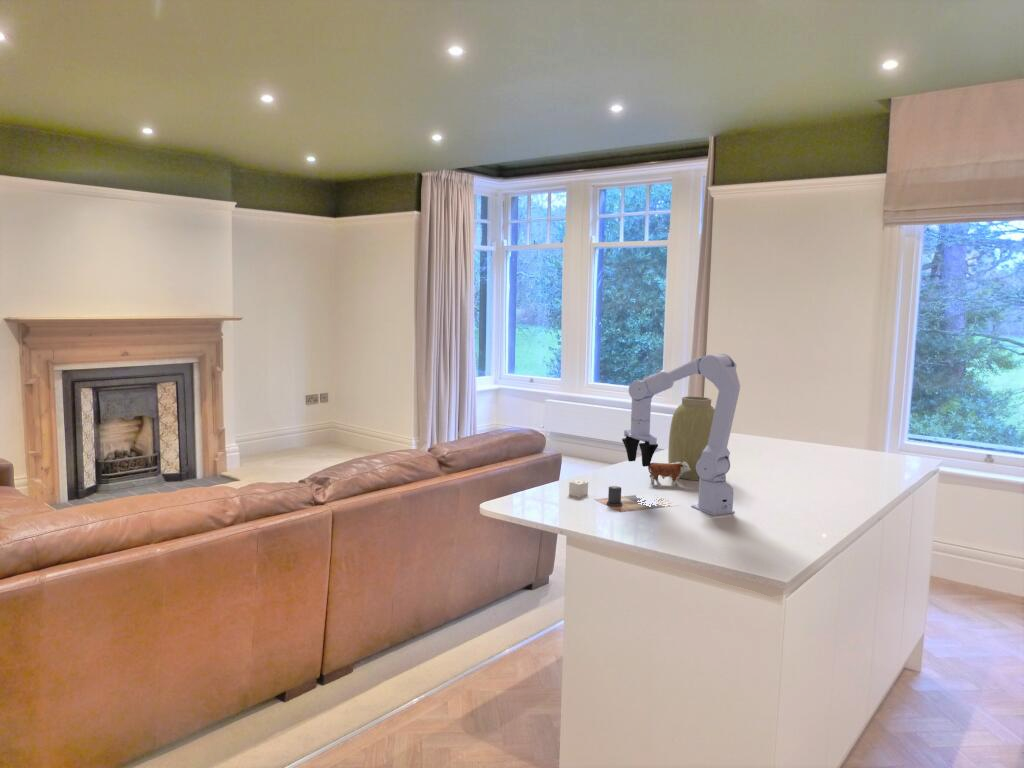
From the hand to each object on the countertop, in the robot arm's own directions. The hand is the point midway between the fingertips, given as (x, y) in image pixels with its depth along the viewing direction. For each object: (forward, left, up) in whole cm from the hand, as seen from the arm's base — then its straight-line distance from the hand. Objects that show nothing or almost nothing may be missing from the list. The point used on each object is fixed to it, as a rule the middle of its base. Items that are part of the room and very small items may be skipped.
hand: (638, 463), depth 216 cm
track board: (-9, +6, -9) cm, 15 cm away
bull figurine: (+6, -16, -10) cm, 20 cm away
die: (+5, +18, -10) cm, 21 cm away
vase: (+14, -32, -10) cm, 36 cm away
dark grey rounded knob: (-9, +14, -9) cm, 19 cm away
